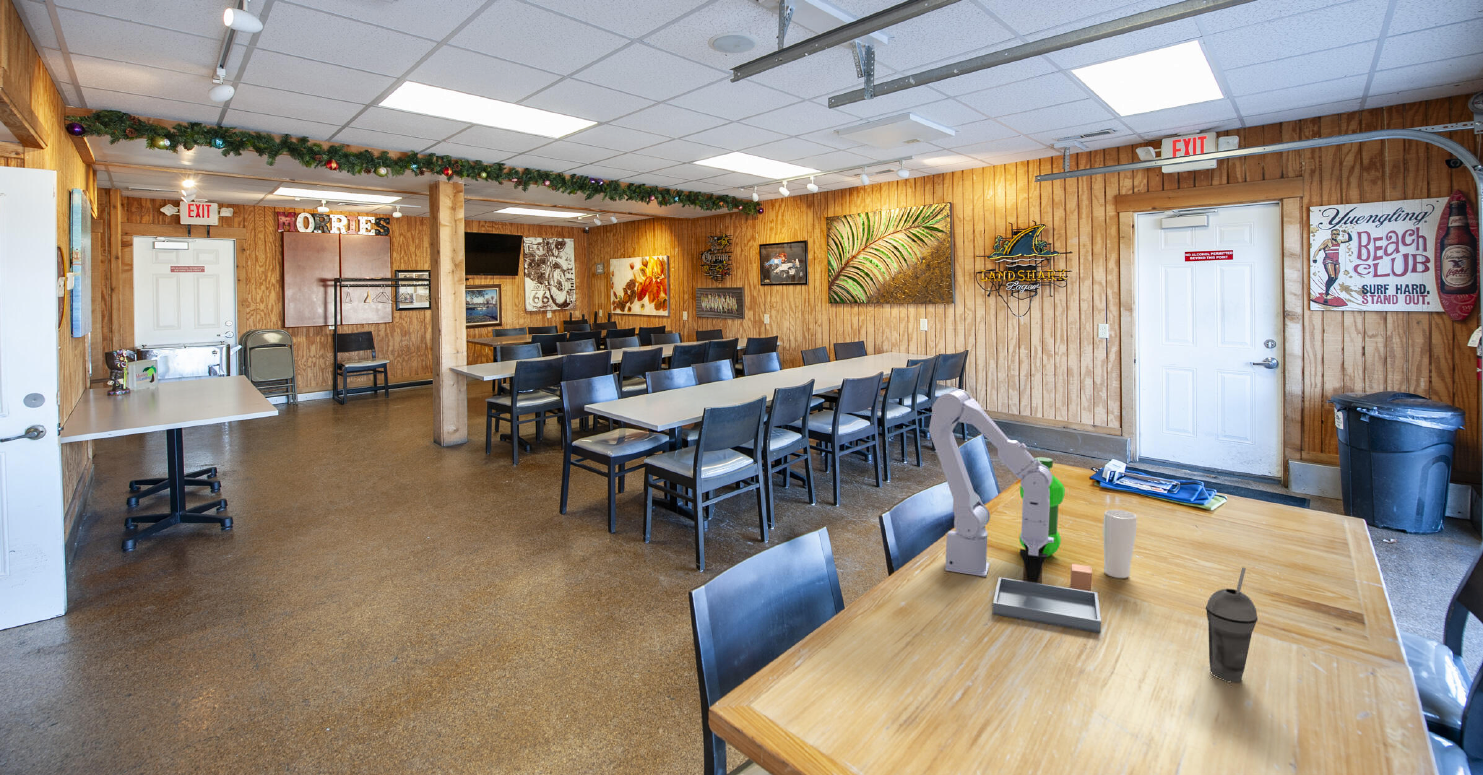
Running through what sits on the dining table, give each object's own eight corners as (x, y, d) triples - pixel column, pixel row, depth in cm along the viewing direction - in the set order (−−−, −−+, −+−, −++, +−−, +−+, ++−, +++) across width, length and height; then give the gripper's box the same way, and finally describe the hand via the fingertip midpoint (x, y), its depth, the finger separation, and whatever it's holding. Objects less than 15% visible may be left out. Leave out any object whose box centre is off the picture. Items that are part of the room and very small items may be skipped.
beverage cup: (1200, 659, 121) (1209, 554, 118) (1250, 671, 117) (1260, 563, 114) (1200, 678, 115) (1209, 569, 112) (1253, 692, 111) (1263, 578, 108)
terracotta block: (1070, 591, 150) (1071, 570, 149) (1070, 584, 153) (1071, 563, 152) (1090, 594, 148) (1091, 573, 147) (1089, 587, 151) (1091, 566, 151)
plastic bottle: (1063, 550, 173) (1068, 457, 170) (1057, 564, 164) (1062, 466, 161) (1022, 543, 178) (1026, 452, 175) (1014, 556, 170) (1018, 461, 166)
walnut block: (1022, 583, 154) (1023, 563, 153) (1023, 577, 157) (1024, 557, 157) (1041, 586, 152) (1042, 566, 151) (1041, 580, 156) (1043, 559, 155)
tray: (992, 613, 139) (993, 602, 139) (998, 587, 152) (998, 577, 152) (1100, 633, 131) (1101, 621, 131) (1096, 603, 143) (1097, 592, 143)
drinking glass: (1137, 581, 154) (1141, 519, 152) (1105, 579, 155) (1109, 518, 153) (1126, 569, 160) (1130, 510, 158) (1096, 568, 162) (1100, 508, 160)
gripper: (1054, 530, 144) (1051, 589, 146) (1054, 510, 157) (1052, 565, 159) (1019, 526, 147) (1017, 584, 149) (1022, 507, 160) (1020, 560, 162)
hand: (1033, 574), depth 154 cm, fingers open, 7 cm apart
